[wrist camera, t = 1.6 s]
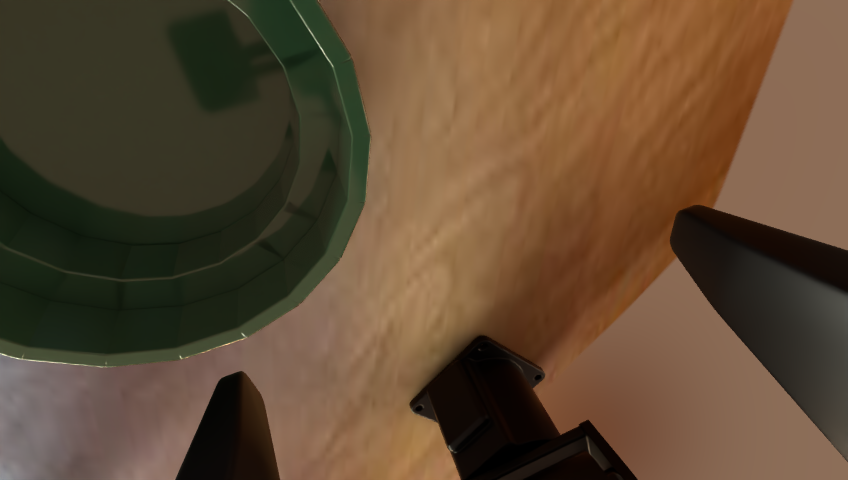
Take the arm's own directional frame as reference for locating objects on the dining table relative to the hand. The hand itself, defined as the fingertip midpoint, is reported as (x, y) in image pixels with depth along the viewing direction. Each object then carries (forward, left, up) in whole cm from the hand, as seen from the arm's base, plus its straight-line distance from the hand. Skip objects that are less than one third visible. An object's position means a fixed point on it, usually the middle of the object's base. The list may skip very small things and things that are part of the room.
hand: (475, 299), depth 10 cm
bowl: (+6, +5, -12) cm, 14 cm away
